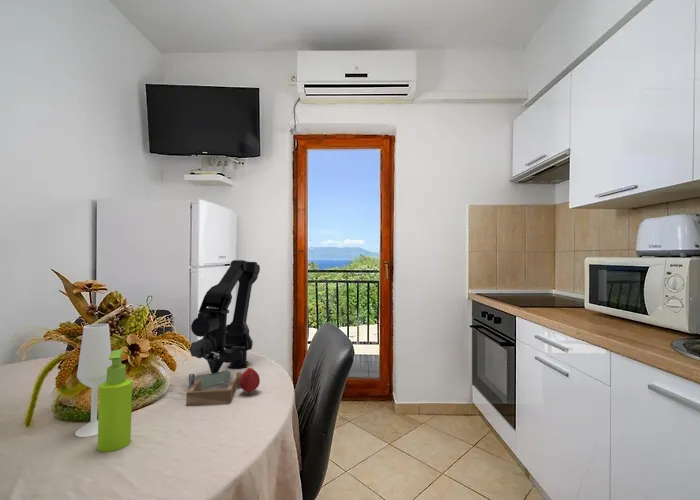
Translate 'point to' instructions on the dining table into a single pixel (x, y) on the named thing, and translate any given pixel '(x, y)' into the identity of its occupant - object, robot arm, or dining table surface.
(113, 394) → the soap dispenser
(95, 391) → the champagne flute
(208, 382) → the leg bar
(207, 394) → the brown u-shaped frame
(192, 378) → the pin
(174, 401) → the dining table surface
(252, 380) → the pomegranate
